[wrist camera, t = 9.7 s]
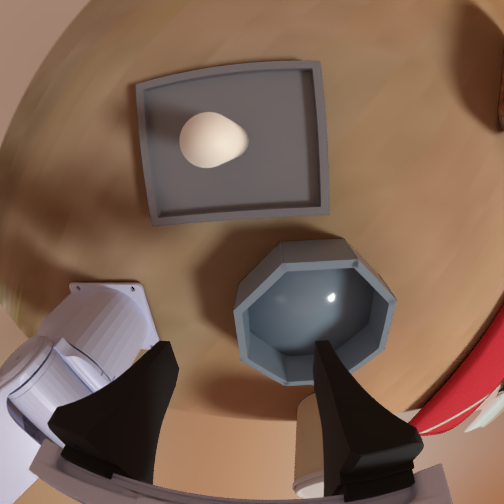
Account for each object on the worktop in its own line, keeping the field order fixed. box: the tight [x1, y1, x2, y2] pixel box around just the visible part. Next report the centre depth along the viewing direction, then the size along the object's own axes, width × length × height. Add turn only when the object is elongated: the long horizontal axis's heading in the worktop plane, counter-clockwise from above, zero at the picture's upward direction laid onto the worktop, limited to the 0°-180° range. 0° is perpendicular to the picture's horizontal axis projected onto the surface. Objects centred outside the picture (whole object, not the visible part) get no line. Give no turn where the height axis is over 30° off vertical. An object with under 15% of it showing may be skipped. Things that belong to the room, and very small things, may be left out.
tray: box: [136, 61, 329, 226], centre depth 18 cm, size 13×11×2 cm
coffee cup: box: [293, 393, 324, 499], centre depth 24 cm, size 9×9×12 cm
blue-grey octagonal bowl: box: [233, 238, 397, 386], centre depth 22 cm, size 12×12×4 cm
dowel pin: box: [179, 112, 249, 168], centre depth 14 cm, size 2×2×8 cm
